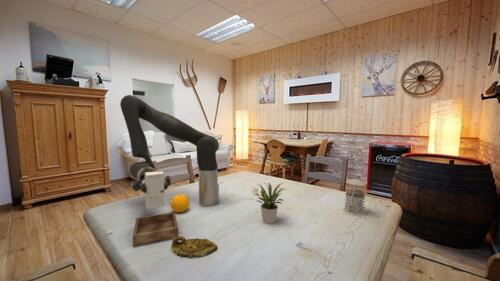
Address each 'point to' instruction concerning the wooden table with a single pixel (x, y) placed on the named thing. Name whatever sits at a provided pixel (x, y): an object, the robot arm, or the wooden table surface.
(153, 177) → the skincare box
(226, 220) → the wooden table surface
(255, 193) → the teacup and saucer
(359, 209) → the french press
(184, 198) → the orange
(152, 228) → the walnut box
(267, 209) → the house plant
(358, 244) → the wooden table surface
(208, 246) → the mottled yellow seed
